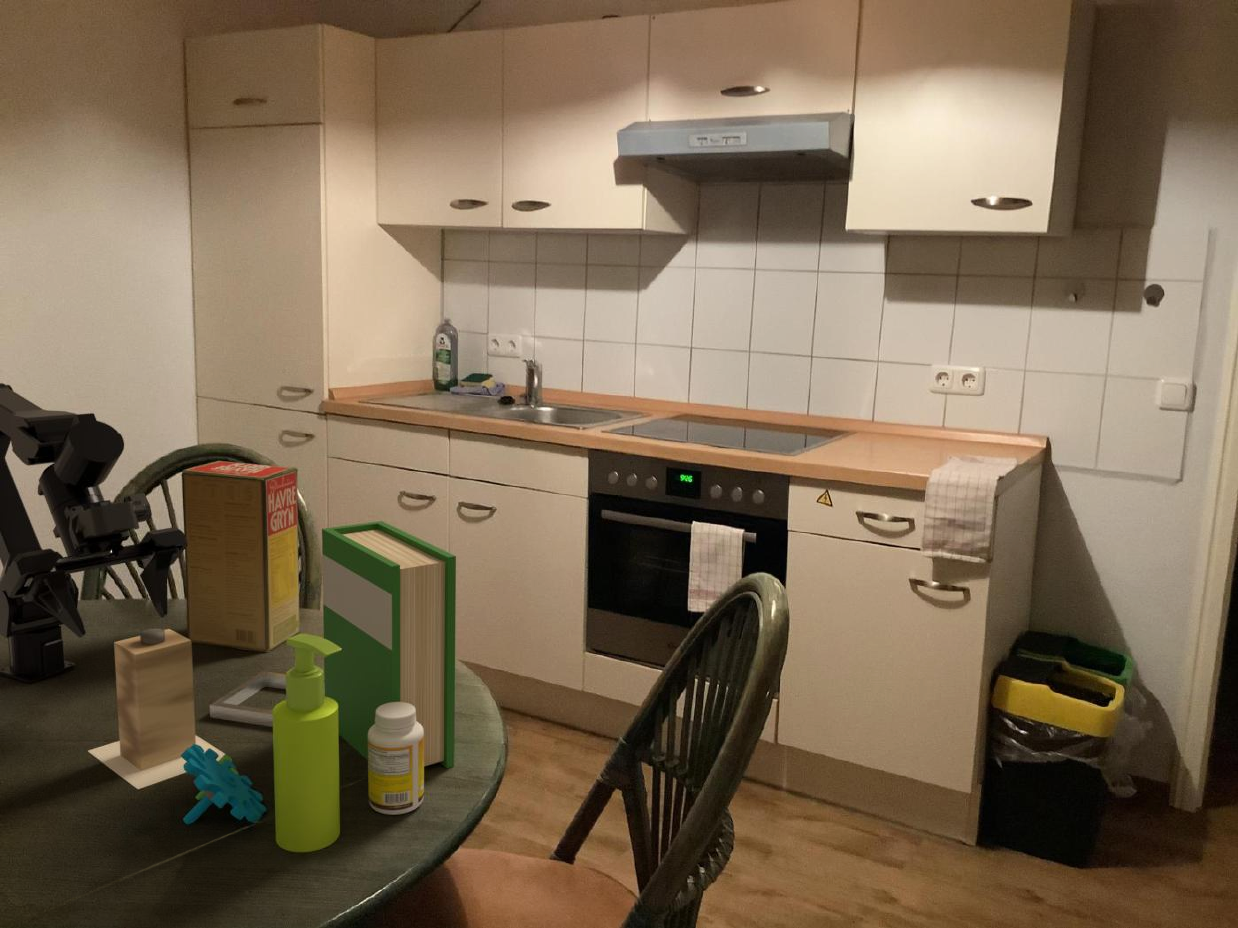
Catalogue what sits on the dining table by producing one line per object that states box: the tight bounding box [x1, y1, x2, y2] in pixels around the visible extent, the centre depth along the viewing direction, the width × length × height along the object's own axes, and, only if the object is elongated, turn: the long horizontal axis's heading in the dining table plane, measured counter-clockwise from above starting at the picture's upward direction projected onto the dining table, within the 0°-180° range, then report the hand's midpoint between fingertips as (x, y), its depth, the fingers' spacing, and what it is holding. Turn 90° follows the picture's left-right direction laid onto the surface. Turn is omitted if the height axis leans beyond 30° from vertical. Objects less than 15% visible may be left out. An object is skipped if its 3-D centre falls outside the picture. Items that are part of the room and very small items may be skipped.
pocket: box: [209, 670, 325, 728], centre depth 125 cm, size 11×11×2 cm
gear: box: [181, 744, 267, 825], centre depth 100 cm, size 11×6×10 cm
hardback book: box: [321, 520, 457, 769], centre depth 115 cm, size 18×7×24 cm, turn 39°
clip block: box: [113, 628, 196, 771], centre depth 111 cm, size 5×6×14 cm
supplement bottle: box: [367, 702, 425, 816], centre depth 103 cm, size 6×6×10 cm
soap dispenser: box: [272, 633, 342, 853], centre depth 96 cm, size 6×7×20 cm
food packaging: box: [181, 460, 301, 653], centre depth 146 cm, size 13×9×25 cm
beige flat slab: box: [87, 734, 226, 790], centre depth 112 cm, size 12×10×1 cm
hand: (125, 625), depth 115 cm, fingers open, 9 cm apart
